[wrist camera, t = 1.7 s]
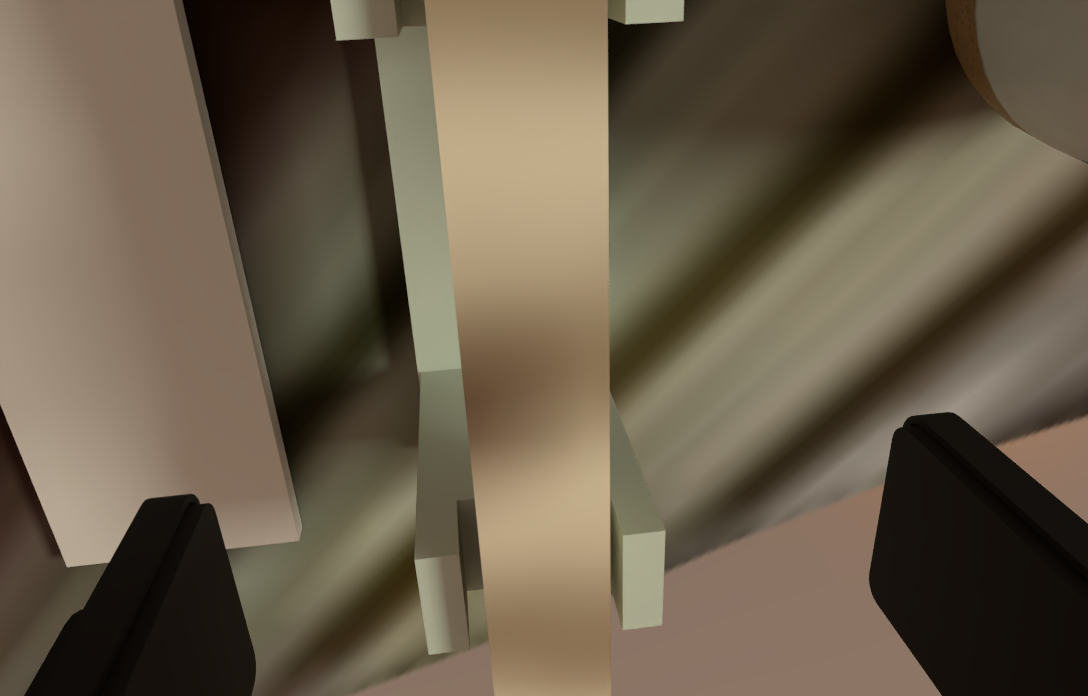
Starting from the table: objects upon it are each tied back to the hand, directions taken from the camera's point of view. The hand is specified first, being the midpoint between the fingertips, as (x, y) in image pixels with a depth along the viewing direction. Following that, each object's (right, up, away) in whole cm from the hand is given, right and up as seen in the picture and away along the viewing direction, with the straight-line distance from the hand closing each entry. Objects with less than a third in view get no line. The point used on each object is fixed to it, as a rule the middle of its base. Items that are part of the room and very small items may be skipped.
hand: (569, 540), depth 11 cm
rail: (-1, +4, +6) cm, 8 cm away
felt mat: (-14, +6, +13) cm, 20 cm away
